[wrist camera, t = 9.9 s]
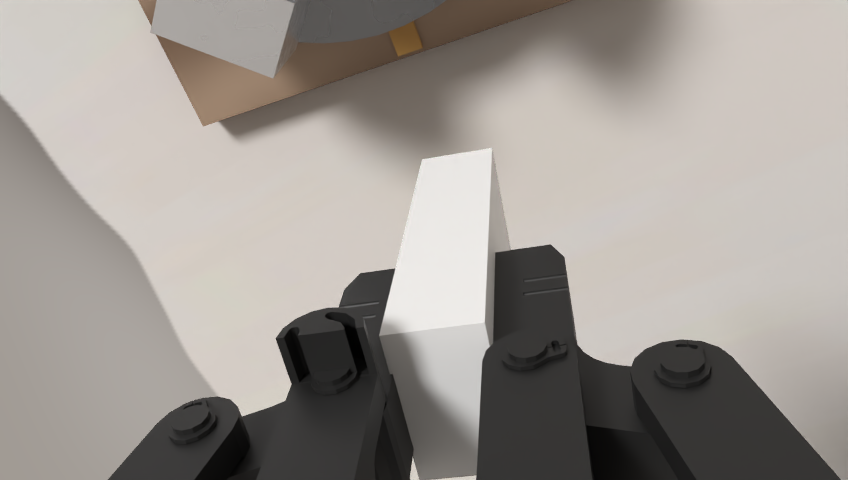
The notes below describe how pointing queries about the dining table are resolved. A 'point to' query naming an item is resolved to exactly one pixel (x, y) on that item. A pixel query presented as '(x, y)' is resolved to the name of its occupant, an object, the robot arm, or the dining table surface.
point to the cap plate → (329, 56)
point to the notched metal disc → (277, 25)
